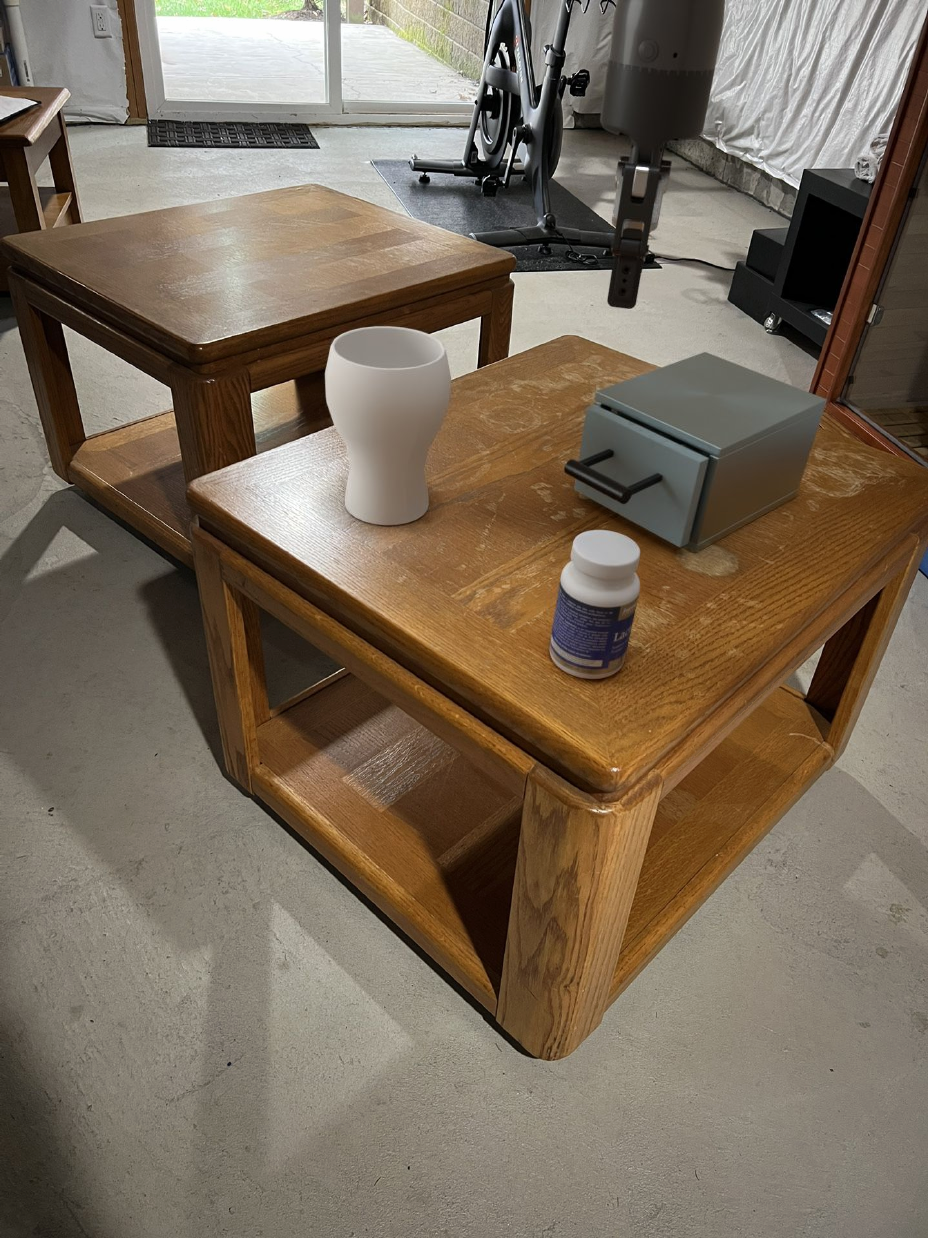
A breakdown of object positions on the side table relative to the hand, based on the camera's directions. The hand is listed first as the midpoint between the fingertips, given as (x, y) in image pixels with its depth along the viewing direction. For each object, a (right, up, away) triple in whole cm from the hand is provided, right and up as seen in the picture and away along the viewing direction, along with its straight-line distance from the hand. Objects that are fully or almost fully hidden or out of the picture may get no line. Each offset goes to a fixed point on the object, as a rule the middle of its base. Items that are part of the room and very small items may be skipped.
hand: (624, 289), depth 75 cm
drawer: (+5, -16, +12) cm, 21 cm away
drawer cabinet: (+9, -14, +16) cm, 23 cm away
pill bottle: (-4, -30, -5) cm, 30 cm away
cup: (-20, -16, +11) cm, 28 cm away
